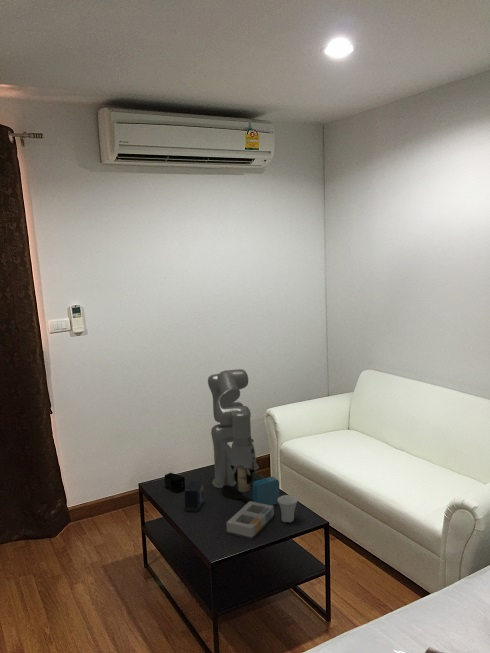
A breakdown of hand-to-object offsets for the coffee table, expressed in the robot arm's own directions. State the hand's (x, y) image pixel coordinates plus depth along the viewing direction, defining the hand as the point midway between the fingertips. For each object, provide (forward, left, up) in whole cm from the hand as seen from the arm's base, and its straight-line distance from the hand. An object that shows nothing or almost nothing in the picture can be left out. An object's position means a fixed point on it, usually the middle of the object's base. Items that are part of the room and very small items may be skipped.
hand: (243, 481), depth 226 cm
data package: (-25, -2, -22) cm, 33 cm away
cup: (-15, +13, -22) cm, 30 cm away
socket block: (-5, 0, -22) cm, 22 cm away
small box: (-9, -32, -22) cm, 40 cm away
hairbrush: (-25, -16, -23) cm, 37 cm away
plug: (0, 0, -3) cm, 3 cm away
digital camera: (-21, -52, -22) cm, 60 cm away
